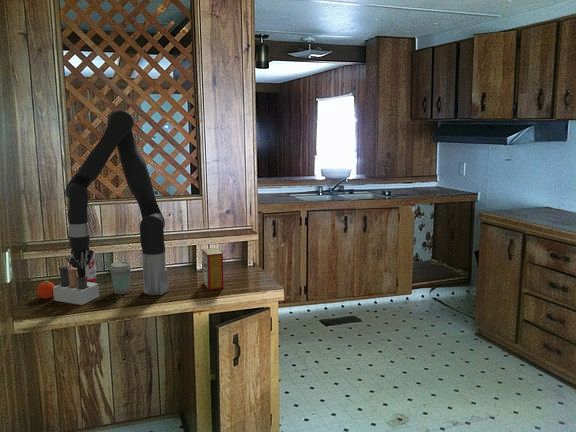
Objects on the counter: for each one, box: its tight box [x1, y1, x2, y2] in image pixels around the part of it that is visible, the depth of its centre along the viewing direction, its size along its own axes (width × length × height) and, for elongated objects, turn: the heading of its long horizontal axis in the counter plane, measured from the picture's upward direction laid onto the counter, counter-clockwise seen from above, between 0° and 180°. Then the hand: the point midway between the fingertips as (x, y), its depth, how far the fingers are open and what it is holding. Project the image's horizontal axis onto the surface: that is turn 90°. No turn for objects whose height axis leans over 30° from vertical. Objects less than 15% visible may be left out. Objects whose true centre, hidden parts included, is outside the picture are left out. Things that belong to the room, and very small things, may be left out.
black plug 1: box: [58, 265, 70, 287], centre depth 209 cm, size 4×4×8 cm
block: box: [53, 282, 100, 306], centre depth 210 cm, size 14×10×6 cm
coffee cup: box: [109, 261, 132, 295], centre depth 217 cm, size 8×8×12 cm
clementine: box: [36, 280, 56, 300], centre depth 210 cm, size 8×7×7 cm
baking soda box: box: [201, 247, 224, 291], centre depth 225 cm, size 10×6×16 cm
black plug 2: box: [77, 276, 88, 290], centre depth 207 cm, size 4×4×8 cm
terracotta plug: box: [68, 267, 79, 288], centre depth 208 cm, size 4×4×8 cm
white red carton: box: [85, 252, 97, 283], centre depth 228 cm, size 6×6×16 cm
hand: (81, 276), depth 206 cm, fingers closed
